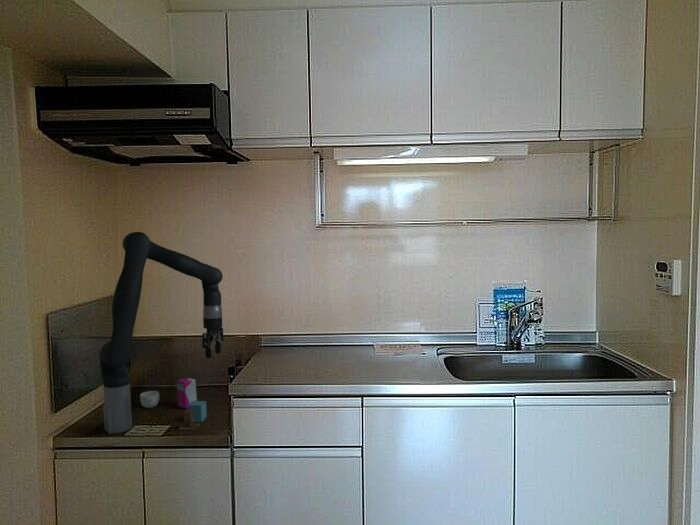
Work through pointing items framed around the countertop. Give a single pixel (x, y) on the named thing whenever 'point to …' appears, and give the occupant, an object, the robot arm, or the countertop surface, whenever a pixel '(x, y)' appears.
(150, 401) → the teacup
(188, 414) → the dark stepped block
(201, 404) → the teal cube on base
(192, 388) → the supplement box
